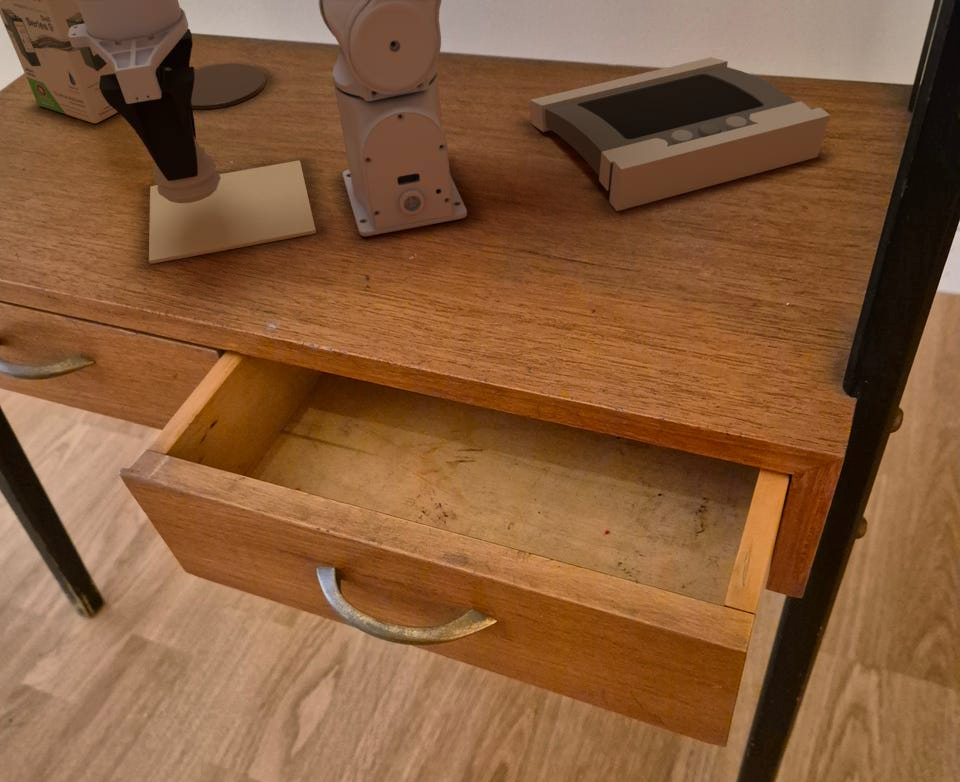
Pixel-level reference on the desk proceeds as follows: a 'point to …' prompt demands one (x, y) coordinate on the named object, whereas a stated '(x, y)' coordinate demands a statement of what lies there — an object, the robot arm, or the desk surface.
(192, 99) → the slate coaster
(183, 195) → the rook chess piece
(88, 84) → the ink box
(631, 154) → the alarm clock
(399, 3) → the robot arm
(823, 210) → the desk surface
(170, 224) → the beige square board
